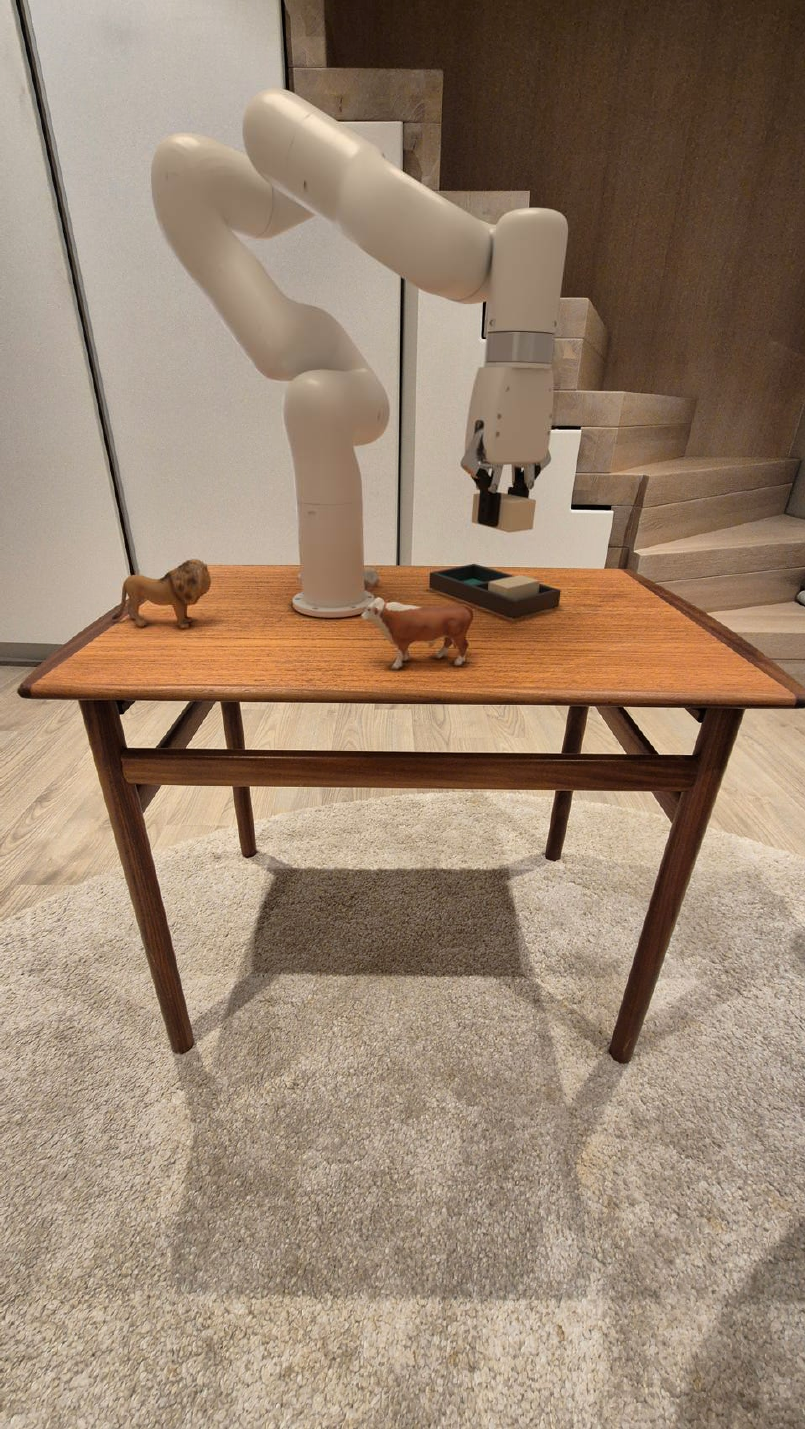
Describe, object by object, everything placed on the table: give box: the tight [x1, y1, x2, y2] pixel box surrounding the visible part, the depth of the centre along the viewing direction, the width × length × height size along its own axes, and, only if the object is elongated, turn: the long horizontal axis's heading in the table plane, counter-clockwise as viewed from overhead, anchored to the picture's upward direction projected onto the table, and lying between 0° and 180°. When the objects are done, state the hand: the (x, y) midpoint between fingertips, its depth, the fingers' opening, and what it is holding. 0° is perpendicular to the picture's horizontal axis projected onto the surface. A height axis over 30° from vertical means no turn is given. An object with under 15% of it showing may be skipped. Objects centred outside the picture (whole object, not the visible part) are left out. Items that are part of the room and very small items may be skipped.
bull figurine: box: [360, 596, 474, 670], centre depth 71 cm, size 4×13×8 cm, turn 94°
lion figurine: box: [110, 558, 212, 630], centre depth 83 cm, size 15×5×9 cm, turn 92°
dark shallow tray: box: [428, 563, 562, 620], centre depth 95 cm, size 10×19×3 cm, turn 37°
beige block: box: [488, 574, 541, 600], centre depth 92 cm, size 4×7×4 cm, turn 127°
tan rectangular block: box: [471, 491, 537, 533], centre depth 75 cm, size 4×7×4 cm, turn 35°
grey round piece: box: [364, 567, 381, 589], centre depth 101 cm, size 4×4×3 cm
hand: (501, 521), depth 75 cm, fingers closed on tan rectangular block, 4 cm apart
